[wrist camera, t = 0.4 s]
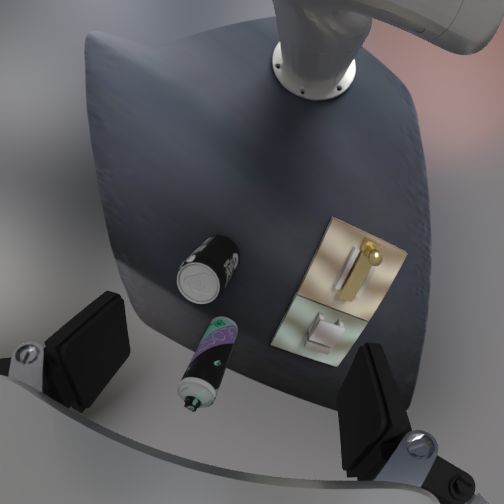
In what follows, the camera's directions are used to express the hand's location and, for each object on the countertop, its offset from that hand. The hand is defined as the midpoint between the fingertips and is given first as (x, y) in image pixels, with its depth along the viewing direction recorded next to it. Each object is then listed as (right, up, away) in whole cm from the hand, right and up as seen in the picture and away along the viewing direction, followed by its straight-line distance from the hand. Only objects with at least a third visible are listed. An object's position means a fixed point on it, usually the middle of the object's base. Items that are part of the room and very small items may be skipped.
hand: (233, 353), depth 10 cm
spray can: (-5, -10, +41) cm, 42 cm away
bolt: (+17, +1, +31) cm, 36 cm away
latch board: (+15, -4, +35) cm, 39 cm away
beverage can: (-4, +4, +36) cm, 36 cm away
